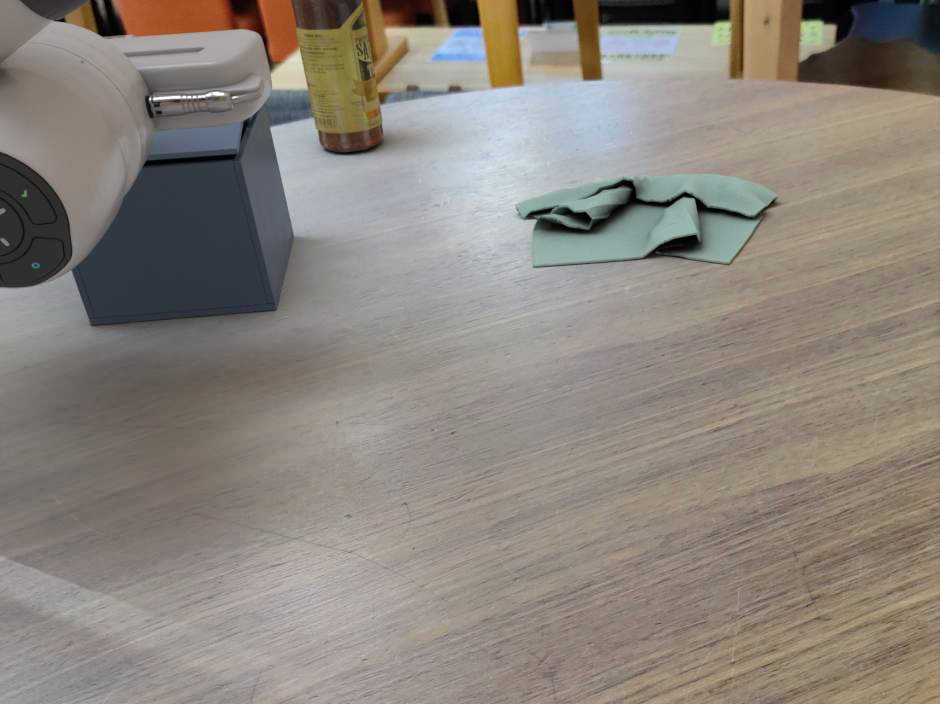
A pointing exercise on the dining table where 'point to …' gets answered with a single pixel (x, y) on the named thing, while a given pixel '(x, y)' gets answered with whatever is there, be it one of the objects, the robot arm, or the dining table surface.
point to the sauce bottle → (339, 73)
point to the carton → (194, 238)
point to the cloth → (646, 219)
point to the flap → (196, 142)
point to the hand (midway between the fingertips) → (116, 49)
